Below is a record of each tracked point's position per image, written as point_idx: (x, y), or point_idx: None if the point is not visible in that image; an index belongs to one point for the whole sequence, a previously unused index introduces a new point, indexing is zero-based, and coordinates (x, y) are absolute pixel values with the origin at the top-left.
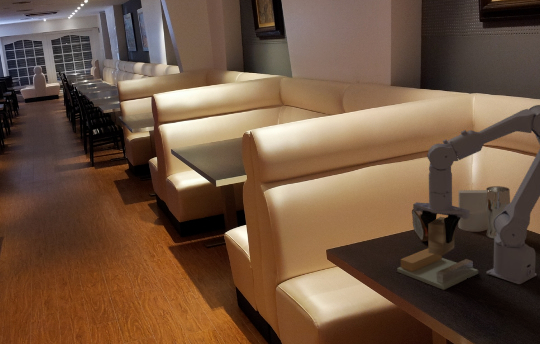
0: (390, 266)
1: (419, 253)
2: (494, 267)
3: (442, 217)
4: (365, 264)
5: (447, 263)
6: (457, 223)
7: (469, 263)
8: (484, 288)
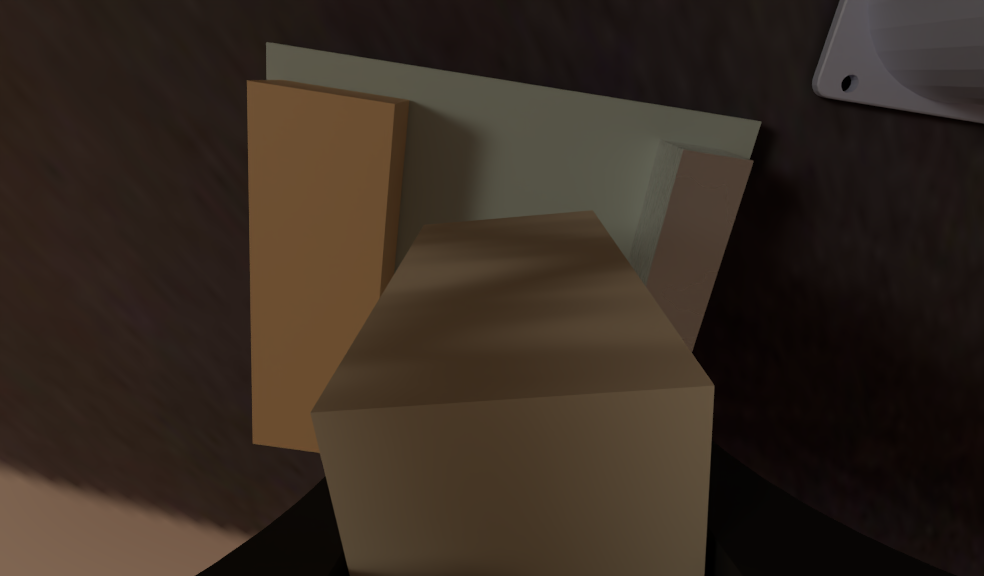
0: (185, 366)
1: (278, 274)
2: (917, 65)
3: (391, 434)
4: (52, 425)
5: (493, 149)
6: (856, 541)
7: (735, 206)
8: (855, 316)
